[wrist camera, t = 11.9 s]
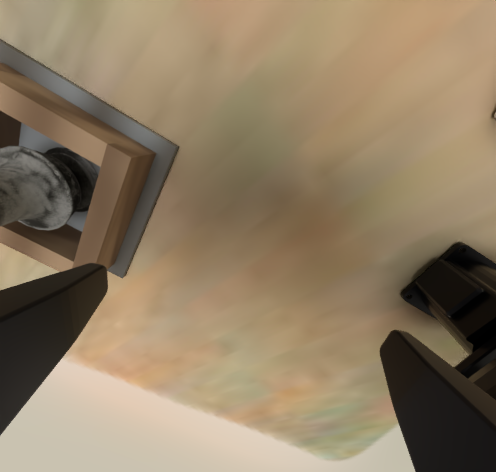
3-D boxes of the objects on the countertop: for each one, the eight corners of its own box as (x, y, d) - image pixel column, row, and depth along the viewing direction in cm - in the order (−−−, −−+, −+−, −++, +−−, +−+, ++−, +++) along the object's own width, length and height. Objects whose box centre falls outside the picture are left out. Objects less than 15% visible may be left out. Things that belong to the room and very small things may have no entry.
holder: (179, 146, 18) (155, 150, 14) (125, 275, 23) (98, 301, 20) (-4, 36, 16) (-85, 8, 12) (-16, 204, 22) (-74, 218, 18)
